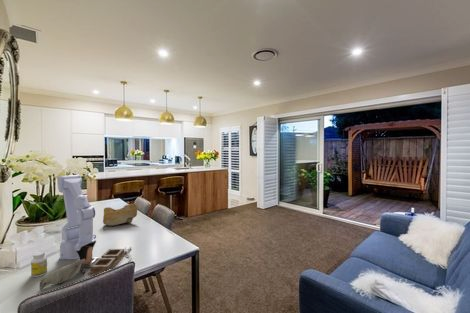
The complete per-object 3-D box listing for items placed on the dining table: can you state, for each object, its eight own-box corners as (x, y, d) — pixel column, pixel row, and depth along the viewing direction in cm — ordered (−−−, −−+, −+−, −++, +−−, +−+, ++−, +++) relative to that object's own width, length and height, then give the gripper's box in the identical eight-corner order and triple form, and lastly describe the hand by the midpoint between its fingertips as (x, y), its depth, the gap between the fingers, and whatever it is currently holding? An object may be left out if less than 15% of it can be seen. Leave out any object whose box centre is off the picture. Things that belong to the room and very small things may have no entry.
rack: (87, 274, 102) (87, 267, 102) (108, 253, 122) (109, 248, 122) (107, 274, 103) (108, 267, 103) (125, 253, 123) (125, 248, 123)
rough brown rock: (137, 218, 184) (137, 201, 184) (137, 223, 168) (137, 204, 169) (105, 222, 174) (105, 203, 175) (102, 228, 159) (102, 207, 160)
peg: (79, 266, 108) (79, 250, 108) (84, 261, 112) (84, 246, 112) (87, 265, 109) (87, 250, 108) (92, 261, 113) (92, 246, 112)
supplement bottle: (28, 275, 100) (28, 254, 99) (42, 269, 105) (42, 249, 104) (35, 278, 98) (35, 257, 97) (49, 272, 103) (49, 251, 102)
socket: (72, 268, 106) (72, 265, 106) (82, 260, 114) (82, 257, 114) (89, 268, 107) (89, 265, 107) (98, 260, 115) (98, 257, 115)
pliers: (109, 260, 112) (119, 247, 127) (109, 263, 112) (119, 249, 127) (129, 259, 114) (137, 246, 129) (129, 262, 114) (137, 248, 129)
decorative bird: (38, 288, 92) (38, 270, 92) (82, 271, 104) (83, 256, 104) (41, 293, 89) (41, 275, 88) (87, 276, 101) (87, 260, 101)
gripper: (85, 237, 103) (85, 265, 104) (101, 226, 117) (101, 251, 118) (69, 237, 102) (69, 265, 103) (88, 226, 117) (88, 251, 117)
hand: (85, 258), depth 110 cm, fingers closed on peg, 4 cm apart
